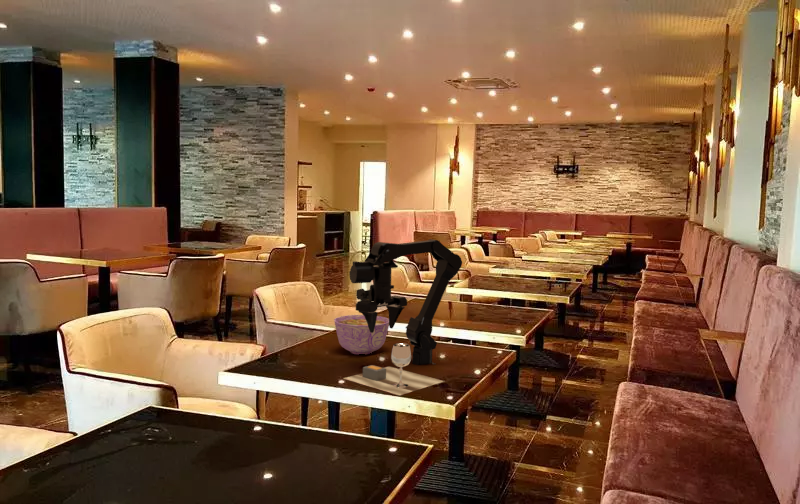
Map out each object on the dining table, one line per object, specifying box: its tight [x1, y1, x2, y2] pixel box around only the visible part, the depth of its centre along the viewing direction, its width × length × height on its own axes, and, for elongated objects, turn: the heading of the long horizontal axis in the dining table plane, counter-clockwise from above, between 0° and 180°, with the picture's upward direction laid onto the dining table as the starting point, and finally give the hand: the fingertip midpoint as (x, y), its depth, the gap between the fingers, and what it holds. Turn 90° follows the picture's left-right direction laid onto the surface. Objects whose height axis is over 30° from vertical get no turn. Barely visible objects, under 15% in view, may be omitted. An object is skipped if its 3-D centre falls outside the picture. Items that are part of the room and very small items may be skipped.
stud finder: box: [362, 364, 386, 381], centre depth 198 cm, size 4×6×3 cm, turn 47°
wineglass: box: [390, 342, 412, 388], centre depth 190 cm, size 6×6×12 cm
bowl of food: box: [333, 314, 390, 355], centre depth 234 cm, size 20×20×12 cm
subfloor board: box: [343, 366, 445, 396], centre depth 196 cm, size 20×23×1 cm
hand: (381, 330), depth 209 cm, fingers open, 9 cm apart
